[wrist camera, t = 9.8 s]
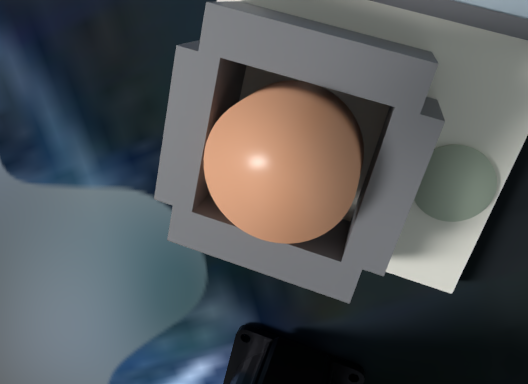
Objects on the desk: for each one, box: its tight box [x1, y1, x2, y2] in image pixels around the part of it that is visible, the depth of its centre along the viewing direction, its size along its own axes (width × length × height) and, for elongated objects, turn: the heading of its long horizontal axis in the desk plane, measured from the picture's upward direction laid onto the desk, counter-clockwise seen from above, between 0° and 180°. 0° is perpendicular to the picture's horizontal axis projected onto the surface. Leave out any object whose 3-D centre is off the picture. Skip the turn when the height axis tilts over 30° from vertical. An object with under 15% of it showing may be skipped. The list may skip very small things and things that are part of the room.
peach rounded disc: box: [204, 80, 364, 244], centre depth 16 cm, size 5×5×2 cm
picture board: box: [154, 0, 528, 303], centre depth 16 cm, size 20×12×4 cm, turn 167°
